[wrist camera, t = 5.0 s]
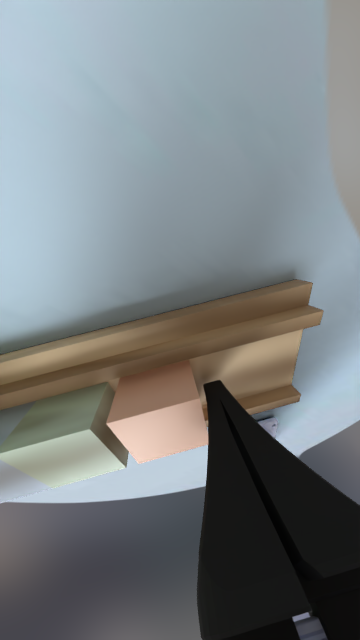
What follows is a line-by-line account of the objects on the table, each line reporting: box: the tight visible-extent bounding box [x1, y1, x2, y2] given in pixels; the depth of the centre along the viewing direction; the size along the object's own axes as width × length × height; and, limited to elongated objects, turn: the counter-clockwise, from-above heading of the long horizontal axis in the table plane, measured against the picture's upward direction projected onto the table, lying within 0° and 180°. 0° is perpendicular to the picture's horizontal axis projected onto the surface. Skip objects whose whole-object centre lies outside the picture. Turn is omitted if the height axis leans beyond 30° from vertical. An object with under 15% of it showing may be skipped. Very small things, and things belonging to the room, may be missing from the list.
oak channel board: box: [0, 279, 323, 503], centre depth 10 cm, size 12×26×4 cm, turn 102°
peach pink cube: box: [106, 360, 208, 464], centre depth 10 cm, size 5×5×3 cm
